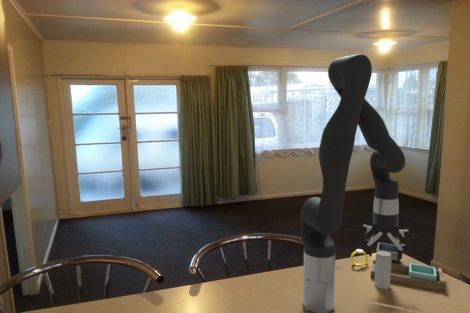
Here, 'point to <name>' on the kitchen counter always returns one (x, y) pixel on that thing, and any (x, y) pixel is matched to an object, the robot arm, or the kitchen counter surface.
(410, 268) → the box
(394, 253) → the open metal box
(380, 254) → the beverage can
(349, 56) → the robot arm
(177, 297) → the kitchen counter surface
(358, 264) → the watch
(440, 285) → the bay
